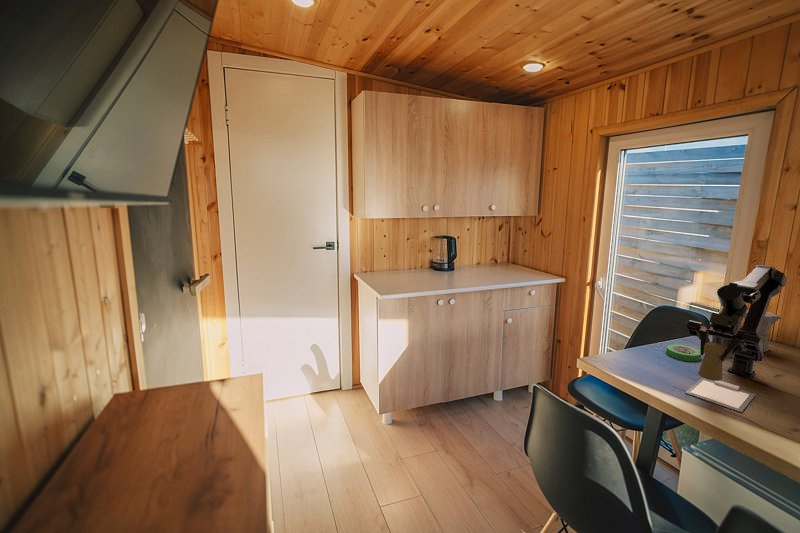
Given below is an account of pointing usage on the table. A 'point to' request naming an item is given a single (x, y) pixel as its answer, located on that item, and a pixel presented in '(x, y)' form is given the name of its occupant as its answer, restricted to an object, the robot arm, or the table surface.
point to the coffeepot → (766, 328)
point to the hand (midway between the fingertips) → (711, 357)
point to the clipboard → (721, 394)
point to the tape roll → (674, 349)
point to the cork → (712, 361)
